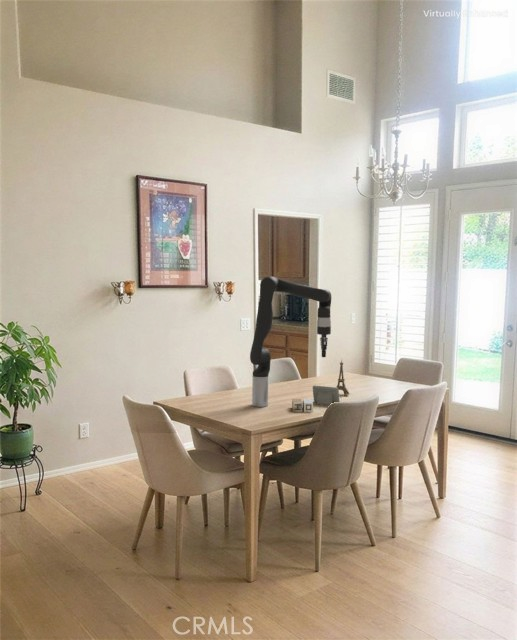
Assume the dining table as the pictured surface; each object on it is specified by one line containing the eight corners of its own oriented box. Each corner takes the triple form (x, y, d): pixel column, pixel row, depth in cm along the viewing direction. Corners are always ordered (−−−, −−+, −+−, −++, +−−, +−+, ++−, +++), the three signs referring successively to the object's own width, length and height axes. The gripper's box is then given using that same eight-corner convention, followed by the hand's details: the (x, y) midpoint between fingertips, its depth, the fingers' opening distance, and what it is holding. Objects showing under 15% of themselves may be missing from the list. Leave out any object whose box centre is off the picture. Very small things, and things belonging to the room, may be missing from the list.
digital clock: (341, 404, 329) (341, 386, 328) (333, 407, 321) (334, 388, 321) (317, 400, 338) (317, 383, 337) (309, 403, 331) (310, 385, 330)
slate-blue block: (303, 411, 308) (302, 407, 318) (312, 411, 308) (311, 407, 318) (304, 402, 308) (302, 399, 318) (313, 403, 308) (311, 399, 318)
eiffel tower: (349, 393, 361) (350, 355, 360) (348, 396, 351) (349, 357, 349) (333, 392, 364) (334, 354, 362) (331, 395, 354) (332, 356, 352)
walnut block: (293, 411, 308) (292, 407, 318) (302, 411, 308) (300, 407, 318) (293, 402, 308) (292, 398, 318) (302, 402, 308) (301, 399, 318)
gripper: (316, 324, 311) (316, 355, 312) (317, 326, 298) (317, 358, 299) (329, 325, 311) (329, 355, 312) (331, 326, 298) (331, 358, 298)
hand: (323, 357), depth 305 cm, fingers closed
